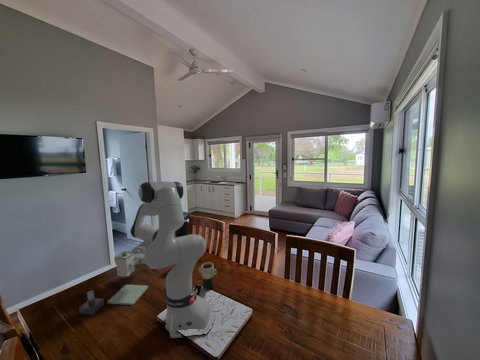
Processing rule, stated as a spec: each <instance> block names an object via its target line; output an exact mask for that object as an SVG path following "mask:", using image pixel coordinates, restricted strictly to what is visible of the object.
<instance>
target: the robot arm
mask: <svg viewBox="0 0 480 360" xmlns="http://www.w3.org/2000/svg"><path fill="white" fill-rule="evenodd" d="M183 196H184V186H183V184H182V183H181V182H178V181H165V180H164V181H162V180H161V181H160V180H159V181H145V182H143V183H141V184H140V185H139V189H138V197H139V200H140V201H141V202H143V203H142V204H140V206H139V207H138V210H137V211H136V216H135V218H134V221H133V224H132V226H131V228H130V230H129V231H130V234H131V237H132V238H135V239H139V240H142V242H141V243H139V244H138V245H136V246H135V247H134V248H132V250H131V251H130V250H129V251H125V250H124V251H122V252H120V253H118V254H116V255H115V256H114V263H115V264H116V258H117V257H118V256H119V255H121V254H122V253H133V257H134V262H131V263H130V264H129V265H130V267H133V266H134V267H135V265H139V264H140V265H146V266H147V267H148V268H150V269H154V270H155V269H165V268H167V267H170V266H174V267H173V268H172V269H171V270H169V272H168V273H167V275H166V277H165V287H166V288H165V289H166V292H165V303H166V316H165V317H166V318H165V321H166V325H165V324H164V326H165V329H166V331H168V333H169V336H170V338H171V339H177V338H183V337H182V336H181V334H179V333H177V331H176V330H188V329H199V330H200V329H205V328H207V326H211V325H212V323H213V322H214V319H215V320H216V314H215V315H214V314H211V312H215V313H216V311H215V309H214V308H213V307H211V306H210V303H209V301H208V300H206V299H205V298H202V297H201V296H200V295H198V294H197V293H198V288H196V289H194V287H193V270H194V268H195V266H196V264H197V263H198V261H199V260H200V258H202V256H203V255H204V254H205V251H206V247H207V246H206V241H205V239H204V237H203V236H202V235H200V234H185V235H181V236H177V237H174V233H175V232H177V231H178V230H179V229H180V228H182V227H183V225H184V224H185V216H184V211H183V205H182V201H181V199H182V198H183ZM146 216H149V217H156V216H157V218H158V228H157V227H155V226H152V225H150V224H147V223H146V222H145V221H144V220H145V217H146ZM214 323H215V322H214Z"/></svg>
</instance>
